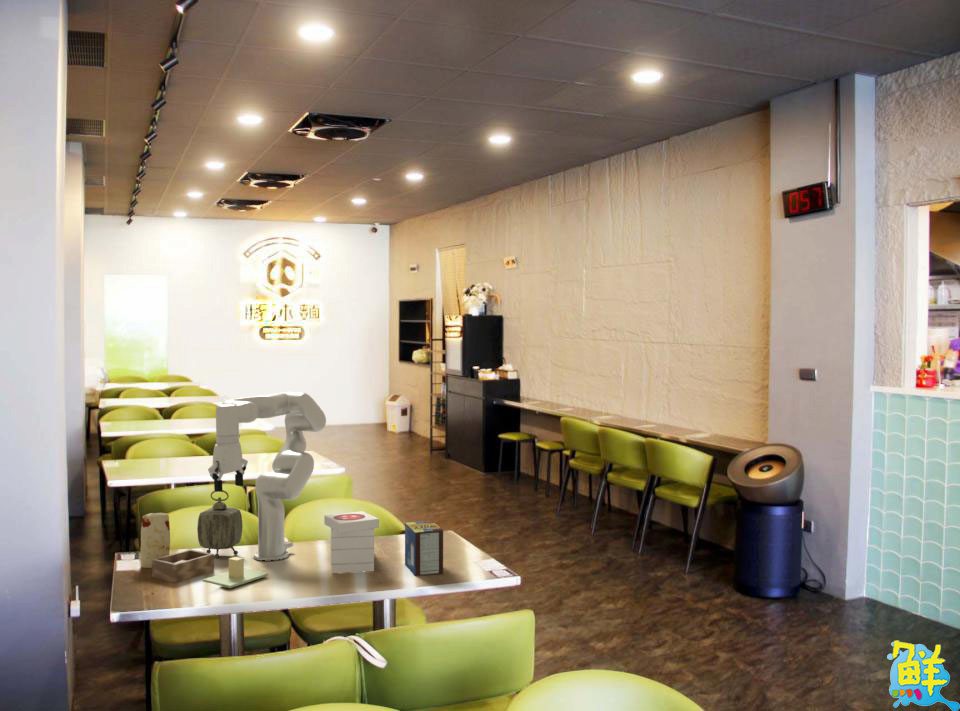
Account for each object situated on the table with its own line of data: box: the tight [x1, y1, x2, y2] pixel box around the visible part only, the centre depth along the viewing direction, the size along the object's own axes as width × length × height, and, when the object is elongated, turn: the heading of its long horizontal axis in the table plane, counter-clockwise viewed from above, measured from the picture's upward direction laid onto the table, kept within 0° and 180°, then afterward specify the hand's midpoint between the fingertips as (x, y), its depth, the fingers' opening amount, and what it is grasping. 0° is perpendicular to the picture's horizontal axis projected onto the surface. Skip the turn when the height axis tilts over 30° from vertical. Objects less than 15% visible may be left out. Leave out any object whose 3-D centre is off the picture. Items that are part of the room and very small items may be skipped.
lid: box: [202, 556, 270, 589], centre depth 279 cm, size 17×13×8 cm
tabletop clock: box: [196, 489, 243, 559], centre depth 308 cm, size 14×9×25 cm, turn 84°
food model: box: [140, 512, 171, 569], centre depth 292 cm, size 10×7×20 cm
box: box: [151, 549, 215, 584], centre depth 282 cm, size 16×12×7 cm
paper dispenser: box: [323, 510, 380, 574], centre depth 301 cm, size 19×30×18 cm, turn 11°
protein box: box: [404, 520, 444, 577], centre depth 294 cm, size 10×15×16 cm
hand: (229, 488), depth 287 cm, fingers open, 9 cm apart
